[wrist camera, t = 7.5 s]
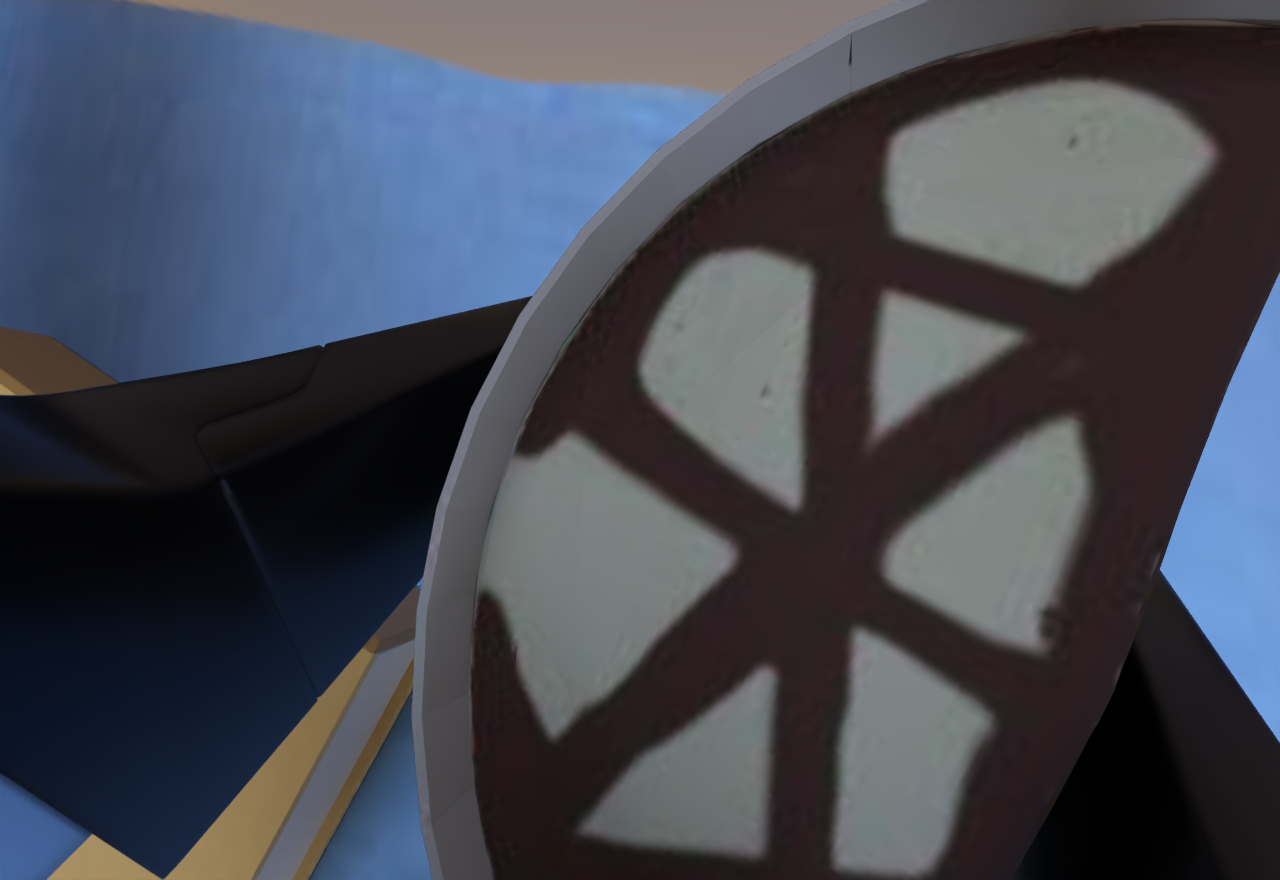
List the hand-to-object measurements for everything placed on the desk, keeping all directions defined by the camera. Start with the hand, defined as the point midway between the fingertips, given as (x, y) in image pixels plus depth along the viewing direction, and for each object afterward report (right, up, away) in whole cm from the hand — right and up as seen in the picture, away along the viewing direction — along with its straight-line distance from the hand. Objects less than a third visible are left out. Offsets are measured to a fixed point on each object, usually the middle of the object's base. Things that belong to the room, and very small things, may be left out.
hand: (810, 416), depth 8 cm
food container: (+1, -2, +7) cm, 7 cm away
